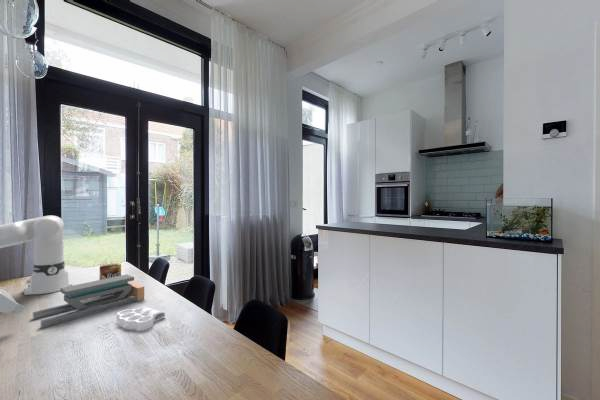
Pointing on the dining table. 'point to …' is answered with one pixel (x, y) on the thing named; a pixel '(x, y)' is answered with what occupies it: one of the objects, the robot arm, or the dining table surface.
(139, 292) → the end stop
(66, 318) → the guide track
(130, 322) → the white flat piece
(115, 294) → the sharpening stone
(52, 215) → the robot arm
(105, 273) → the candy box
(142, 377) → the dining table surface
